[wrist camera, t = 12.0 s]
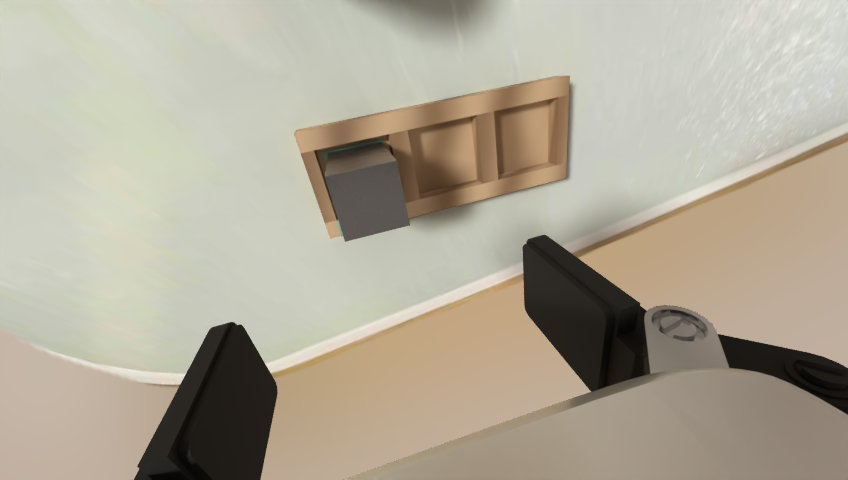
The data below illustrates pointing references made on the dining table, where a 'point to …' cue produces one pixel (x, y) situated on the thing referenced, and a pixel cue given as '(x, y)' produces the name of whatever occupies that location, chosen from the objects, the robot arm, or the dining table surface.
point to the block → (366, 190)
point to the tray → (455, 146)
